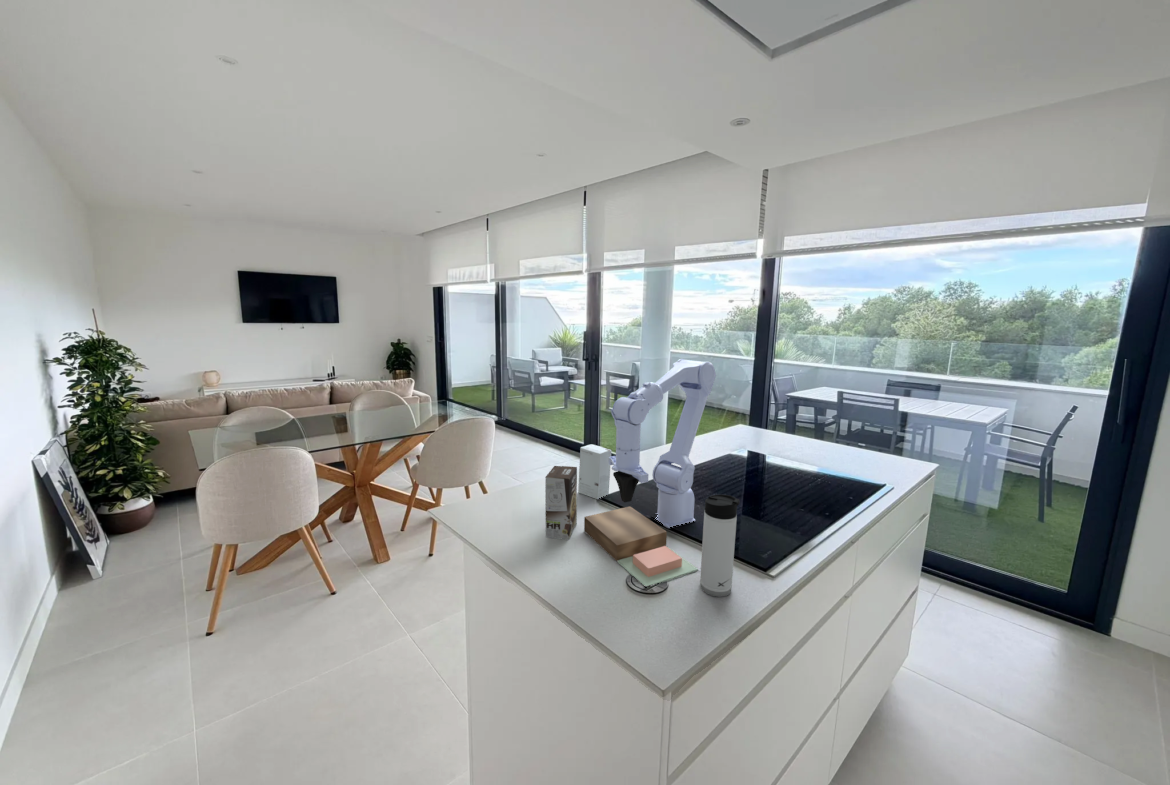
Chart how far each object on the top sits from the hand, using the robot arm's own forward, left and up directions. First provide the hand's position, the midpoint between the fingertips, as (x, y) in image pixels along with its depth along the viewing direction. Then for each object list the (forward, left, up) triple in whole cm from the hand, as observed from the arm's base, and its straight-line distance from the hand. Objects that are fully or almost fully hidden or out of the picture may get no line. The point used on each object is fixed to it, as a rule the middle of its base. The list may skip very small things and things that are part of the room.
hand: (626, 500), depth 112 cm
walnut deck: (0, -1, -10) cm, 10 cm away
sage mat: (0, +13, -10) cm, 17 cm away
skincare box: (-7, -29, -11) cm, 31 cm away
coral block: (0, +13, -8) cm, 15 cm away
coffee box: (+12, -12, -11) cm, 20 cm away
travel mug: (-6, +25, -11) cm, 28 cm away
